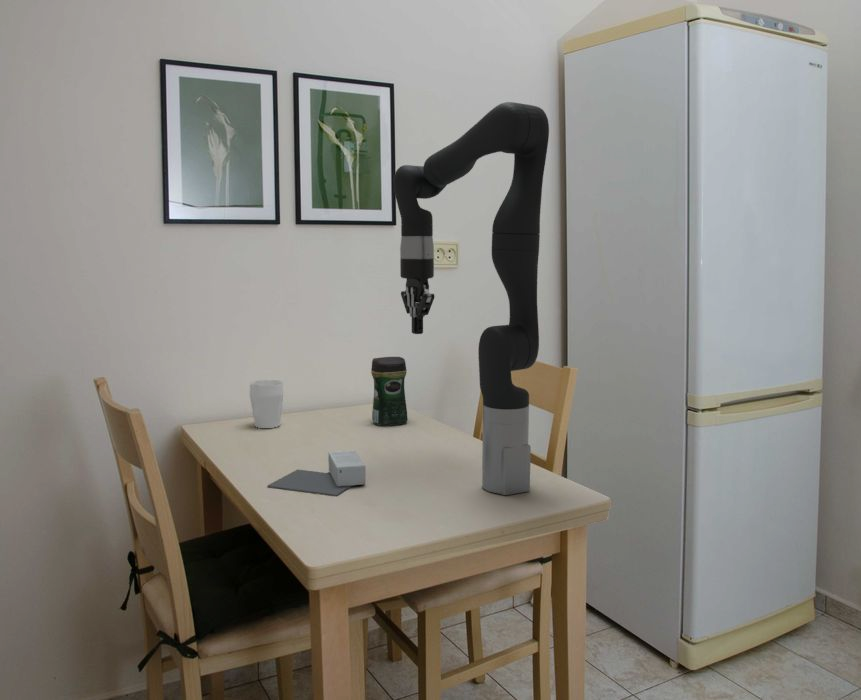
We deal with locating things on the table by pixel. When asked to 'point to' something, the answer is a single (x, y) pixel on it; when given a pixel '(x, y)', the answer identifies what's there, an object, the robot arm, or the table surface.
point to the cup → (266, 402)
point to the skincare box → (346, 468)
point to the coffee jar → (389, 391)
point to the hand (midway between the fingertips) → (417, 333)
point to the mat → (310, 482)
